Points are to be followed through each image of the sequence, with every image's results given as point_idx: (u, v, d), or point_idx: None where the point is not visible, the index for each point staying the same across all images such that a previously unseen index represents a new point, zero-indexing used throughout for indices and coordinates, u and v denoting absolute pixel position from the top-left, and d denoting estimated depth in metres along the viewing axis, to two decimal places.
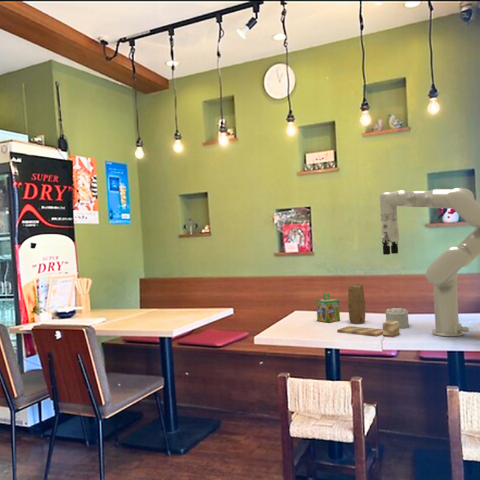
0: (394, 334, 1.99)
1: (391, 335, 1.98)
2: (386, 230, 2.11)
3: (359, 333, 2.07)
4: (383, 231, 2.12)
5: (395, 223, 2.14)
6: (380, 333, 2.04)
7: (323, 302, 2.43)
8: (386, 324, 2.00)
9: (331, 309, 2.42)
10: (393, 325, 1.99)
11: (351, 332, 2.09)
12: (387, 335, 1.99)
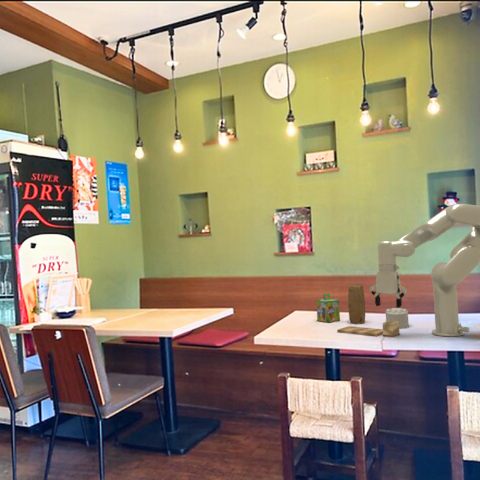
0: (394, 334, 1.99)
1: (391, 335, 1.98)
2: (398, 281, 1.99)
3: (359, 333, 2.07)
4: (397, 283, 1.98)
5: None
6: (380, 333, 2.04)
7: (323, 302, 2.43)
8: (386, 324, 2.00)
9: (331, 309, 2.42)
10: (393, 325, 1.99)
11: (351, 332, 2.09)
12: (387, 335, 1.99)
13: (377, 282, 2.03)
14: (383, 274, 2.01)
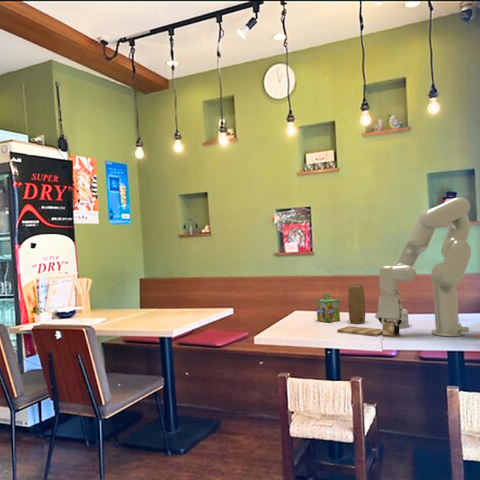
0: (394, 334, 1.99)
1: (391, 335, 1.98)
2: (400, 306, 1.99)
3: (359, 333, 2.07)
4: (399, 307, 1.98)
5: None
6: (380, 333, 2.04)
7: (323, 302, 2.43)
8: (386, 324, 2.00)
9: (331, 309, 2.42)
10: (392, 325, 1.99)
11: (351, 332, 2.09)
12: (387, 335, 1.99)
13: (379, 307, 2.03)
14: (385, 299, 2.01)
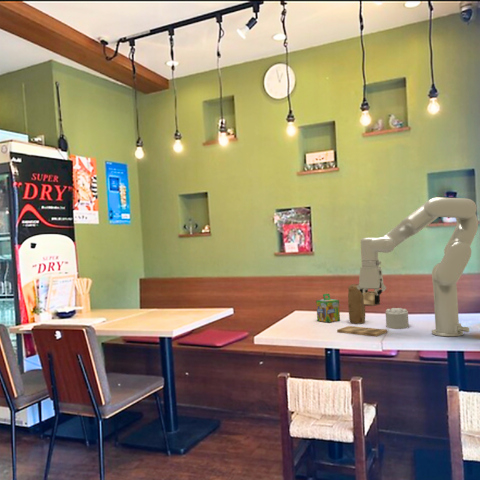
0: (374, 303, 2.05)
1: (371, 304, 2.04)
2: (381, 276, 2.05)
3: (359, 333, 2.07)
4: (379, 277, 2.04)
5: None
6: (380, 333, 2.04)
7: (323, 302, 2.43)
8: (366, 294, 2.06)
9: (331, 309, 2.42)
10: (373, 295, 2.05)
11: (351, 332, 2.09)
12: (367, 304, 2.05)
13: (360, 277, 2.09)
14: (366, 269, 2.07)
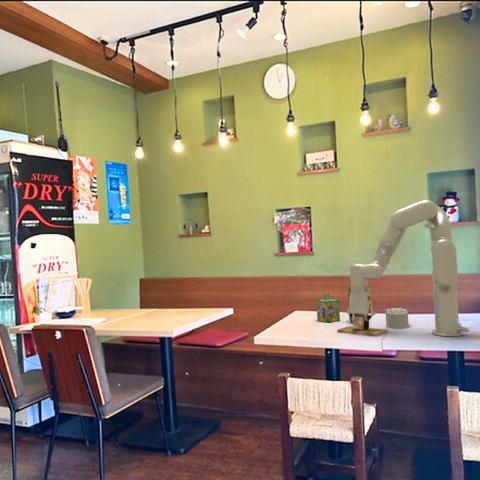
0: (363, 327, 2.09)
1: (360, 328, 2.08)
2: (370, 302, 2.09)
3: (359, 333, 2.07)
4: (368, 303, 2.08)
5: None
6: (380, 333, 2.04)
7: (323, 302, 2.43)
8: (355, 318, 2.09)
9: (331, 309, 2.42)
10: (362, 319, 2.08)
11: (351, 332, 2.09)
12: (357, 329, 2.09)
13: (350, 303, 2.13)
14: (355, 295, 2.11)
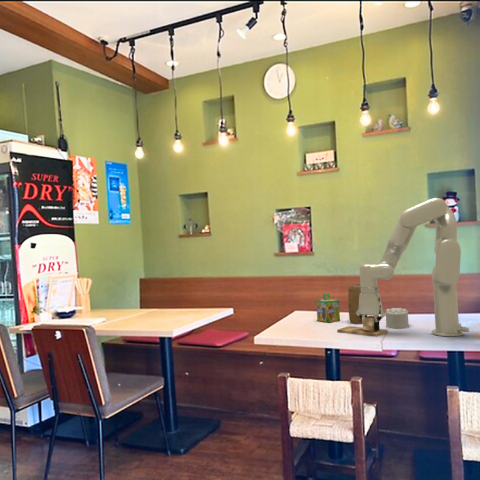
0: (373, 329, 2.06)
1: (370, 330, 2.05)
2: (380, 303, 2.06)
3: (359, 333, 2.07)
4: (378, 304, 2.05)
5: None
6: (380, 333, 2.04)
7: (323, 302, 2.43)
8: (365, 319, 2.06)
9: (331, 309, 2.42)
10: (372, 321, 2.05)
11: (351, 332, 2.09)
12: (367, 330, 2.06)
13: (360, 304, 2.10)
14: (365, 296, 2.07)
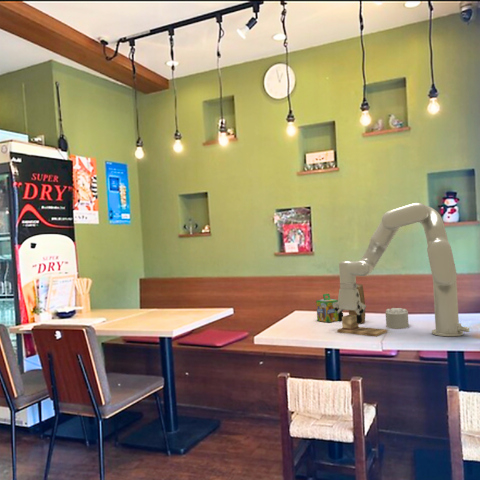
0: (352, 327, 2.13)
1: (349, 328, 2.12)
2: (358, 298, 2.13)
3: (359, 333, 2.07)
4: (356, 300, 2.12)
5: None
6: (380, 333, 2.04)
7: (323, 302, 2.43)
8: (345, 318, 2.14)
9: (331, 309, 2.42)
10: (351, 319, 2.12)
11: (351, 332, 2.09)
12: (346, 328, 2.13)
13: (339, 299, 2.17)
14: (344, 292, 2.15)
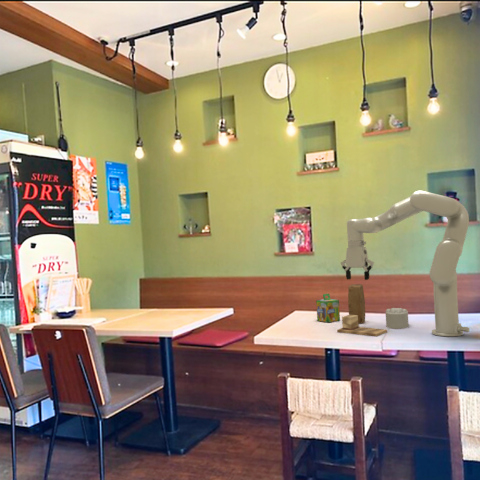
0: (352, 327, 2.13)
1: (349, 328, 2.12)
2: (366, 256, 2.16)
3: (359, 333, 2.07)
4: (364, 257, 2.15)
5: None
6: (380, 333, 2.04)
7: (323, 302, 2.43)
8: (345, 318, 2.14)
9: (331, 309, 2.42)
10: (351, 319, 2.12)
11: (351, 332, 2.09)
12: (346, 328, 2.13)
13: (347, 257, 2.20)
14: (352, 249, 2.18)
